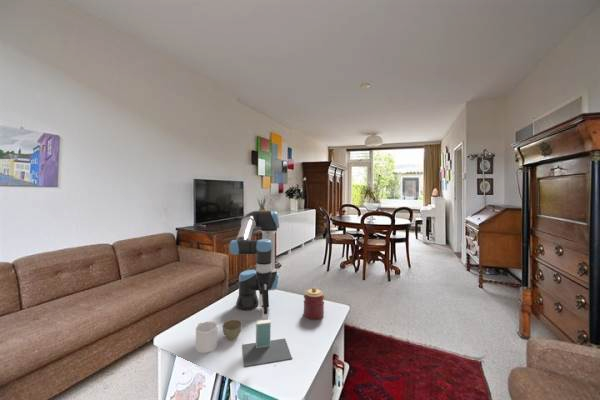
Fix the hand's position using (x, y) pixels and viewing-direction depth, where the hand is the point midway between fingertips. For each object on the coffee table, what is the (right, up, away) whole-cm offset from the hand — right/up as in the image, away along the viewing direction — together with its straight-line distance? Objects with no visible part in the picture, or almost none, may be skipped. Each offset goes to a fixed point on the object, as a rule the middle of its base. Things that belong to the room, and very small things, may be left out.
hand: (263, 312), depth 123 cm
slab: (0, -17, 0) cm, 17 cm away
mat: (+2, -17, -4) cm, 18 cm away
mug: (-29, -17, 0) cm, 34 cm away
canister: (+27, -17, +33) cm, 46 cm away
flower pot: (-18, -17, +7) cm, 25 cm away
